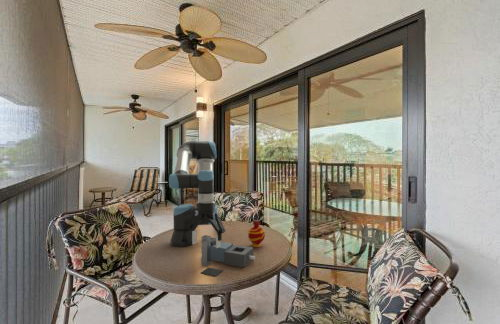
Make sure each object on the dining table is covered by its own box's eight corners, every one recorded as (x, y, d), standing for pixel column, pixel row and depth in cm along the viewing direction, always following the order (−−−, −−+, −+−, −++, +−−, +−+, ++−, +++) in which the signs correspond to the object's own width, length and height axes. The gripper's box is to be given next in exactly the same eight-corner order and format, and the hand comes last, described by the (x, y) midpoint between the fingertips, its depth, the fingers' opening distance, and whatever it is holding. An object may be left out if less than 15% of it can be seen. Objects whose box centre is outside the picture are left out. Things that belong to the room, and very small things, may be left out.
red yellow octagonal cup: (263, 249, 146) (263, 223, 146) (246, 247, 148) (246, 222, 148) (266, 243, 156) (266, 218, 156) (249, 242, 158) (249, 218, 158)
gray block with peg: (199, 266, 123) (199, 237, 123) (206, 261, 128) (206, 234, 128) (205, 267, 121) (205, 238, 121) (212, 262, 127) (212, 235, 127)
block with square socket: (201, 259, 131) (201, 242, 131) (213, 252, 141) (213, 236, 141) (250, 268, 120) (249, 249, 120) (258, 260, 130) (258, 242, 130)
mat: (200, 273, 115) (200, 272, 115) (207, 268, 121) (207, 267, 121) (215, 276, 112) (215, 275, 112) (222, 271, 118) (222, 270, 118)
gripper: (180, 201, 126) (180, 244, 126) (224, 204, 116) (224, 251, 116) (189, 199, 133) (189, 240, 133) (232, 202, 123) (232, 246, 123)
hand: (206, 245), depth 124 cm, fingers open, 13 cm apart
